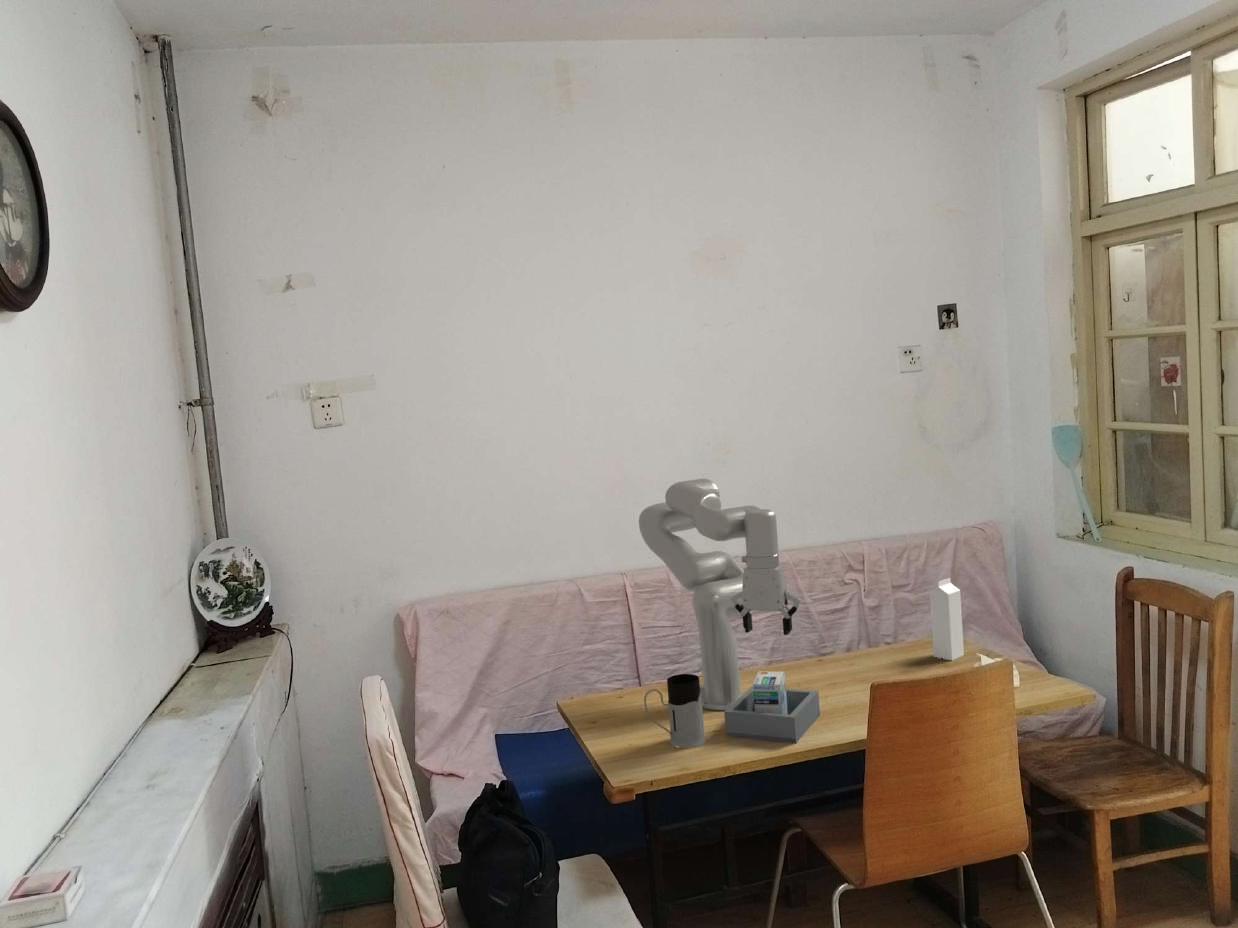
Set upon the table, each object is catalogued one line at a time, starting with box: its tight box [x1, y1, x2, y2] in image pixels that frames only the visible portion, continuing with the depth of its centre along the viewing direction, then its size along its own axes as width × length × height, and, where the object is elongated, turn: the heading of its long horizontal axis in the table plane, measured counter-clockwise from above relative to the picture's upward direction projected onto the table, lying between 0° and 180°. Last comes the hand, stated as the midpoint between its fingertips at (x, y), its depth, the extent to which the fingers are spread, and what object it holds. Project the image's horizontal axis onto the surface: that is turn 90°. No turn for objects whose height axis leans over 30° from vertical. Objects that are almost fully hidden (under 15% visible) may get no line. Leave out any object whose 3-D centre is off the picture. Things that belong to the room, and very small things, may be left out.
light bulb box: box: [752, 670, 788, 715], centre depth 236 cm, size 11×7×11 cm, turn 165°
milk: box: [929, 577, 965, 661], centre depth 277 cm, size 6×6×22 cm
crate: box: [723, 685, 821, 744], centre depth 236 cm, size 17×19×6 cm
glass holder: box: [643, 673, 708, 749], centre depth 230 cm, size 9×14×15 cm, turn 107°
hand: (767, 632), depth 236 cm, fingers open, 9 cm apart
